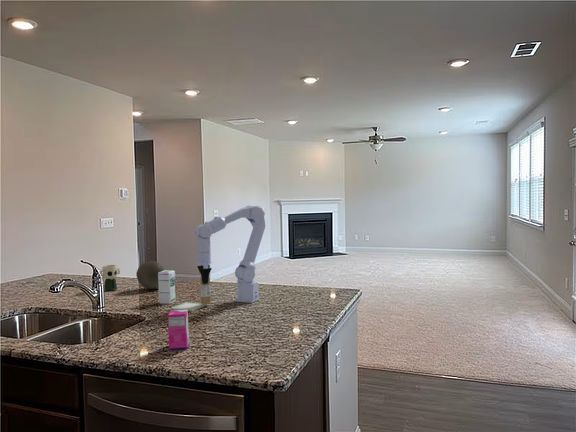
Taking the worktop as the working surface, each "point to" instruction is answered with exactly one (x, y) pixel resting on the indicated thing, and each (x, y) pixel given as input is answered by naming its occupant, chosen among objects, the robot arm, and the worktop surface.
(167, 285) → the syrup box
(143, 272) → the cantaloupe
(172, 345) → the supplement box
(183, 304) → the green white square tile
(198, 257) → the robot arm
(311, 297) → the worktop surface
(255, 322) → the worktop surface
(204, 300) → the sprinkles bottle
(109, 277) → the character mug
